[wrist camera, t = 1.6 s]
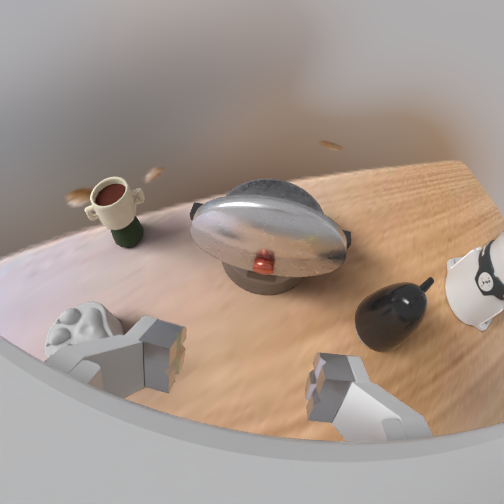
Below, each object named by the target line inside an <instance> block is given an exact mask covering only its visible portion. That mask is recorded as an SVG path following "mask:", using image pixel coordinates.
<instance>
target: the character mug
mask: <svg viewBox="0 0 504 504" xmlns="http://www.w3.org/2000/svg"><path fill="white" fill-rule="evenodd" d="M134 195H138V196H139V198H138V199H135V200H134V198H133V196H134ZM90 200H91V203H92V205H91V206H88V207H87V208H85V212H86V214H87V216H88V217H89V219H90V220H91V221H93V220H96V219H98V218H99V219H100V220H101V222H102V224H103V225H105V226H106V227H107V228H108V229H111V233H112V235H113V238H114V240H115V242H116V244H118V245H119V246H121V247H127V248H128V247H131V246H134V245H135V244H136V243H137V242H139V241H140V239H141V237H142V235H143V227H142V226H141V224H140V222H139V220H138V219H137V217H136V216H135V215H136V205H137V204H140V203H143V202H144V201H145V197H144V194H143V191H142V190H141V189H140V188H139V189H135V190H132V191H131V190H130V187H129V185H128V183H127V182H126V180H124V179H123V178H121V177H110V178H107V179H104V180H103V181H101V182H100V183H99V184H98V185H96V186H95V188H94V189H93V191H92V193H91V197H90ZM93 210H95V211H96V214H94V215H93V214H92V213H91V211H93Z"/></svg>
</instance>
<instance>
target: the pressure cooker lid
mask: <svg viewBox="0 0 504 504" xmlns="http://www.w3.org/2000/svg"><path fill="white" fill-rule="evenodd" d="M190 233H191V237H192V239H193V240H194V242H195V243H196V244H197V245H198V246H199V247H200V248H201V249H202V250H204V251H205V252H206V253H208V254H210V255H211V256H213V257H215V258H217V259H219V260H221V261H223V262H225V263H228V264H230V265H233V266H236V267H239V268H242V269H245V270H249V271H253V272H256V273H259V274H263V275H275V276H286V277H307V276H316V275H321V274H325V273H329V272H331V271H334V270H335V269H337V268H339V267H340V266H341V265H342V264H343V263H344V261H345V258H346V246H347V240H346V236H345V234H344V232H343V231H342V229H341V228H340V227H339V226H338V225H337V224H336V223H335V222H334V221H333V220H332V219H330V218H329V217H327V216H326V215H324V214H322V213H321V212H319V211H317V210H315V209H313V208H310V207H308V206H305V205H303V204H300V203H297V202H294V201H290V200H286V199H282V198H277V197H271V196H264V195H231V196H225V197H220V198H216V199H213V200H210V201H208V202H207V203H205V204H203V205H202V206H201V207H199V208H198V210H197V211H196V213H195V215H194V218H193V221H192V224H191V228H190Z"/></svg>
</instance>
